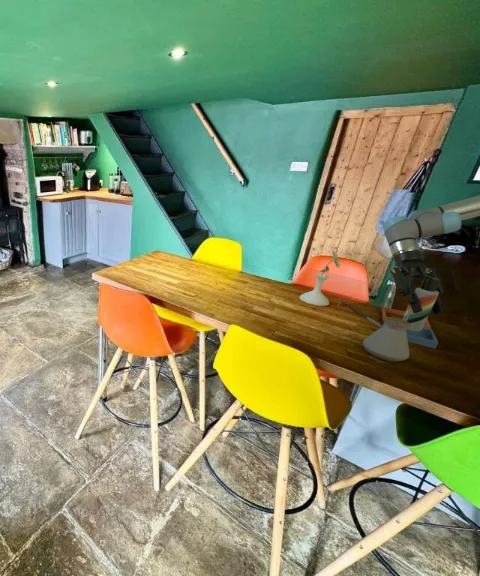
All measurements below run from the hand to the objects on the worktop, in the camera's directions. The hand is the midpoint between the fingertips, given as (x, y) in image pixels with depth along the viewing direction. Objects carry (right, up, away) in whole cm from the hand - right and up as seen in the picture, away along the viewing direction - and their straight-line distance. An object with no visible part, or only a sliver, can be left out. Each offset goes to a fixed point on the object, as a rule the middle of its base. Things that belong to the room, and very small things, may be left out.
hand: (428, 312), depth 104 cm
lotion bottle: (0, -6, +7) cm, 9 cm away
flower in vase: (-14, +1, +35) cm, 38 cm away
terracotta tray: (+9, -5, +18) cm, 21 cm away
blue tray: (0, -9, +8) cm, 12 cm away
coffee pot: (-23, -13, -1) cm, 27 cm away
